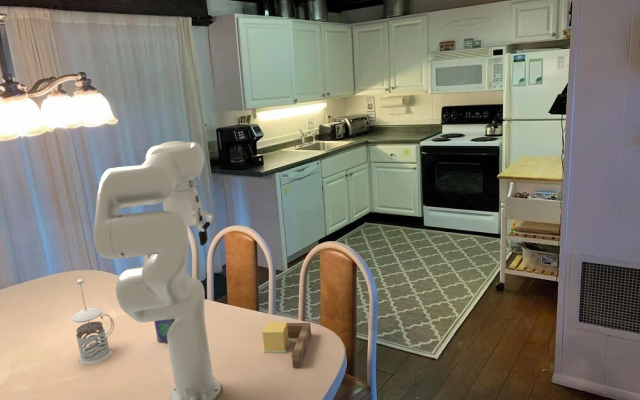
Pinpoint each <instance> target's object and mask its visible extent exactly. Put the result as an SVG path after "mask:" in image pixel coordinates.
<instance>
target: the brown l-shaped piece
mask: <svg viewBox="0 0 640 400" xmlns="http://www.w3.org/2000/svg"><path fill="white" fill-rule="evenodd" d="M287 327H288V336H289V342H288V344H287V347H286V349H285V351H265V349H263V350H264V351H263V353H274V354H275V353H277V354H279V353H280V354H281V353H282V354H283V353H284V354H285V353H287V351H288V349H289V346H290V343H291V339H296V342H295V345H294V348H293V351H292V353H291V361H292V362H291V363H292V368H293V369H301V367H302V364H303V360H304V358H305V356H306V352H307V348H308V345H309V342H310V340H309V339H311V337H312V329H311V328H312V327H311V322H287ZM310 336H311V337H310Z"/></svg>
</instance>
